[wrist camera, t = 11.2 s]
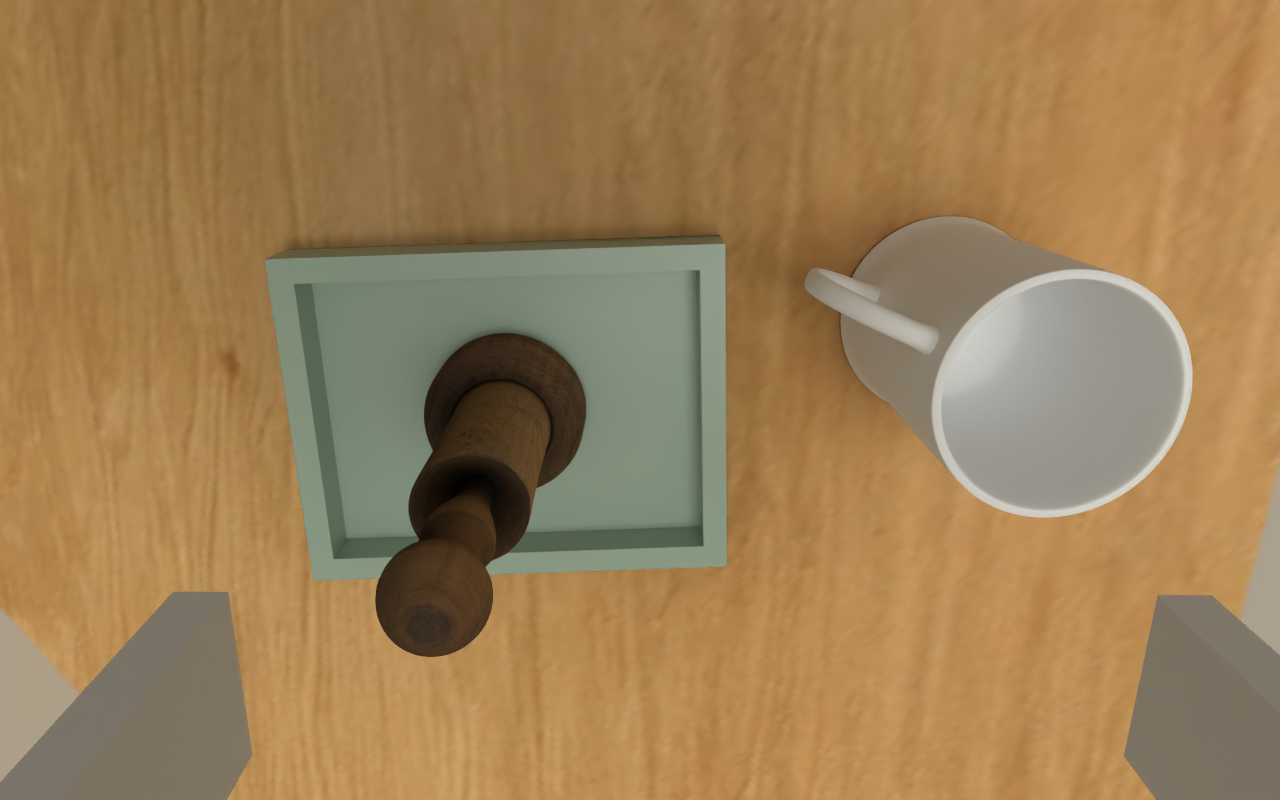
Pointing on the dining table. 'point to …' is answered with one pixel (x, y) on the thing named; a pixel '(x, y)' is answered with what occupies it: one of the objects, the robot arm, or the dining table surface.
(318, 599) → the dining table surface
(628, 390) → the tray
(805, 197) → the dining table surface
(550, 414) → the wooden pepper mill
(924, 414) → the mug
